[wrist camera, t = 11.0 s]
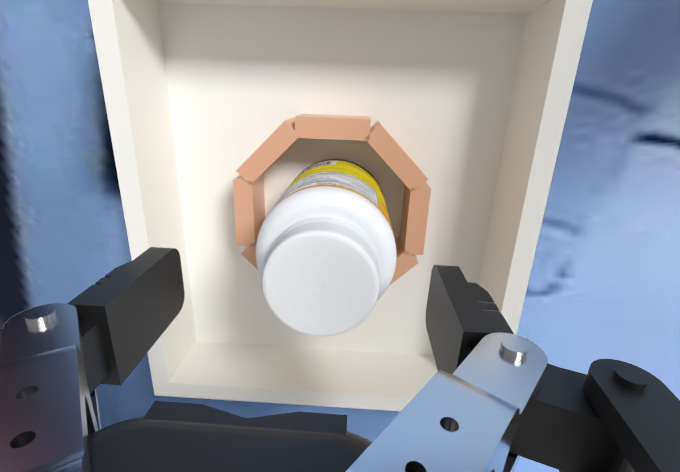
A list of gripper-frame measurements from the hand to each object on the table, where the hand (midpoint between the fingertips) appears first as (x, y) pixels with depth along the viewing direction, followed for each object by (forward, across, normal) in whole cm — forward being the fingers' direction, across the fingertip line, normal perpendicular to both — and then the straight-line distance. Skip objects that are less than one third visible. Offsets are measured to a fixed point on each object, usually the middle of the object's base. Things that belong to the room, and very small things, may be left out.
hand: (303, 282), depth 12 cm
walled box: (+12, 0, +1) cm, 12 cm away
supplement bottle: (+11, 0, 0) cm, 11 cm away
